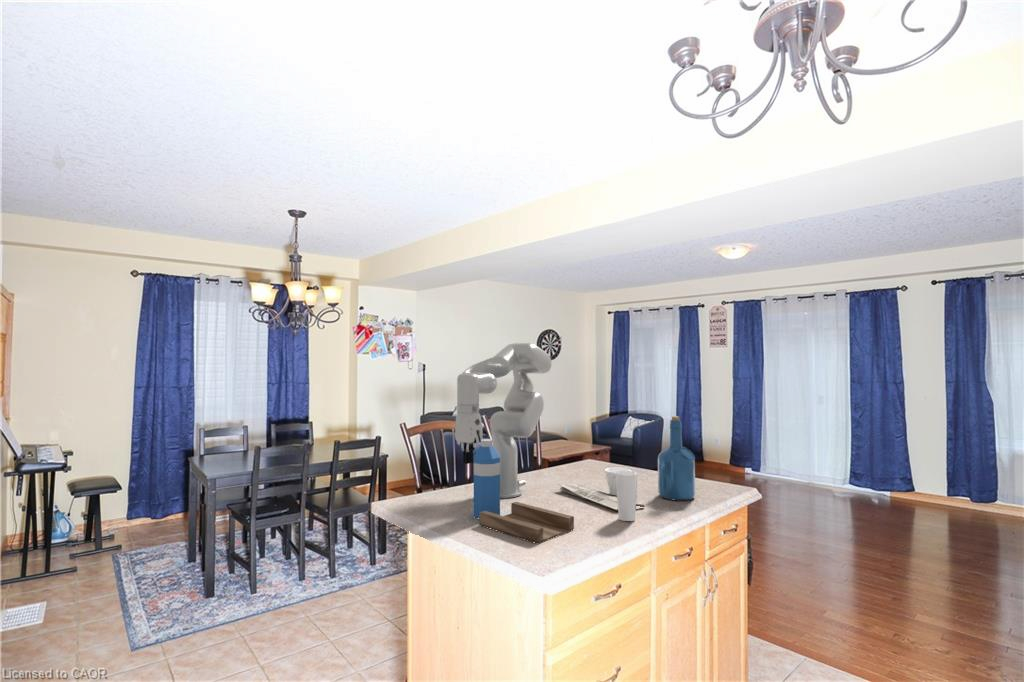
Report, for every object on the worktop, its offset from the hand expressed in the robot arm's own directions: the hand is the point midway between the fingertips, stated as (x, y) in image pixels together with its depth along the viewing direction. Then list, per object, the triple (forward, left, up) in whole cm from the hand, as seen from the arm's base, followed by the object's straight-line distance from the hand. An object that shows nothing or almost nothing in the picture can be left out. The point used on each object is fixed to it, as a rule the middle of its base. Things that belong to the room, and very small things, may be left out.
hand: (468, 462), depth 180 cm
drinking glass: (-28, +45, -16) cm, 56 cm away
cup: (-53, +26, -16) cm, 61 cm away
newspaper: (-41, +24, -17) cm, 51 cm away
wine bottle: (-65, +44, -16) cm, 80 cm away
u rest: (0, +27, -16) cm, 31 cm away
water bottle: (0, +9, -16) cm, 19 cm away
